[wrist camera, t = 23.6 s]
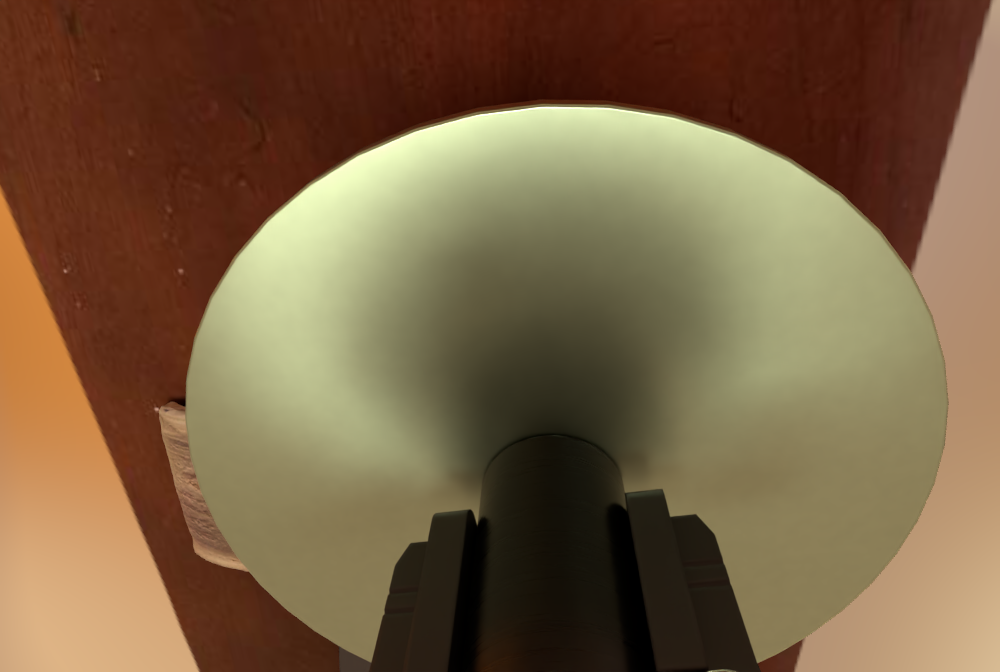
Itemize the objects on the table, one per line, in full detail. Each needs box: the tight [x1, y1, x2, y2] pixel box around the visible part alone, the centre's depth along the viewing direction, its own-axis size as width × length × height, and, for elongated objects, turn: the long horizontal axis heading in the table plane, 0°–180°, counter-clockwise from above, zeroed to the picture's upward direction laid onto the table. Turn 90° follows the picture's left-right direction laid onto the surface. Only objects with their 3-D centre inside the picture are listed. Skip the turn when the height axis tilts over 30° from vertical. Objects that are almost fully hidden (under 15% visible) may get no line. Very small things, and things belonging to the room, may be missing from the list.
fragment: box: [159, 402, 248, 571], centre depth 34 cm, size 13×16×5 cm
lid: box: [185, 99, 948, 672], centre depth 11 cm, size 16×16×7 cm
